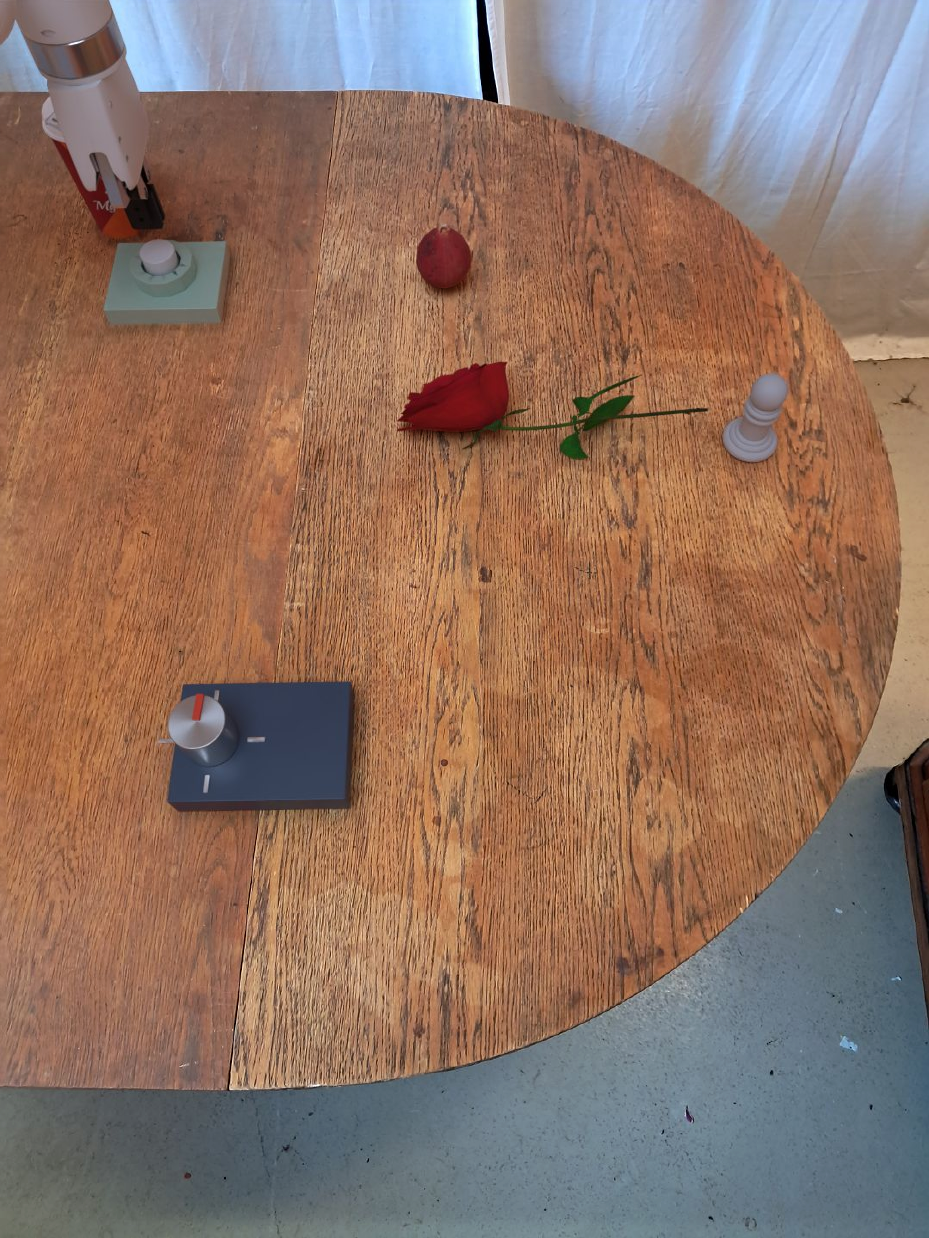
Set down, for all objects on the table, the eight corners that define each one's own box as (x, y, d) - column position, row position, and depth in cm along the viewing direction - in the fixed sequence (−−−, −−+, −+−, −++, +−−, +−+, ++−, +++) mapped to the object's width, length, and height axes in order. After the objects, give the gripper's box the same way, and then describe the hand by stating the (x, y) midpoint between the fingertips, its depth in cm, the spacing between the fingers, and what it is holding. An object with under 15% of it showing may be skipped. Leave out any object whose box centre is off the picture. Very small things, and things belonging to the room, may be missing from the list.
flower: (715, 335, 80) (383, 354, 82) (718, 442, 80) (387, 457, 83) (698, 361, 89) (399, 377, 91) (700, 457, 89) (402, 470, 92)
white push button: (142, 277, 94) (136, 263, 93) (147, 252, 96) (141, 239, 95) (176, 276, 94) (171, 263, 93) (180, 252, 96) (176, 238, 95)
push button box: (110, 325, 96) (96, 297, 93) (124, 258, 101) (111, 229, 97) (221, 323, 96) (212, 295, 93) (231, 257, 101) (222, 227, 97)
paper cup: (125, 254, 101) (75, 140, 88) (75, 229, 103) (20, 113, 90) (171, 214, 104) (129, 97, 91) (122, 189, 106) (75, 72, 93)
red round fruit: (430, 311, 97) (427, 251, 90) (410, 276, 99) (405, 215, 92) (479, 295, 98) (480, 234, 91) (458, 260, 100) (456, 198, 93)
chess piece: (714, 453, 88) (738, 392, 80) (730, 414, 90) (755, 350, 82) (766, 471, 87) (796, 411, 79) (782, 431, 89) (812, 369, 81)
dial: (234, 767, 71) (219, 748, 67) (180, 766, 71) (161, 747, 67) (242, 715, 73) (228, 693, 69) (189, 714, 73) (171, 692, 69)
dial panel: (162, 812, 73) (149, 801, 70) (177, 697, 77) (166, 683, 74) (349, 808, 73) (344, 798, 70) (354, 694, 77) (350, 680, 74)
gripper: (47, -12, 78) (123, 175, 94) (11, 100, 71) (101, 279, 88) (133, -15, 78) (194, 172, 94) (105, 97, 71) (177, 277, 88)
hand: (149, 223), depth 91 cm, fingers closed
